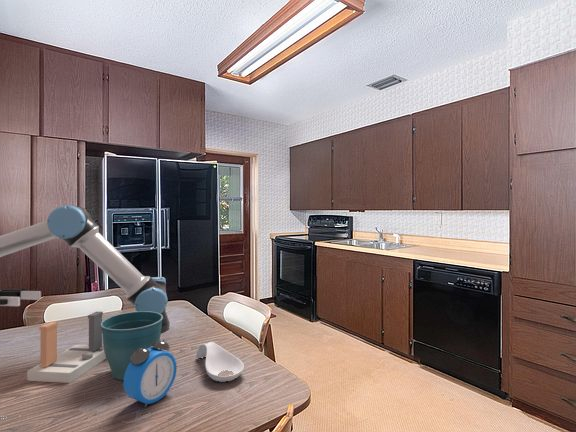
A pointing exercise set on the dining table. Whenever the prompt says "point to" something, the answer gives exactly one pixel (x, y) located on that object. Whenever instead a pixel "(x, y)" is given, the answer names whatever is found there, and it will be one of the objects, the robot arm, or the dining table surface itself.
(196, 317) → the dining table surface
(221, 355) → the spoon rest
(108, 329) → the flower pot
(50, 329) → the terracotta paddle
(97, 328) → the gray capped upright block
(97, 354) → the console
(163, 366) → the alarm clock
